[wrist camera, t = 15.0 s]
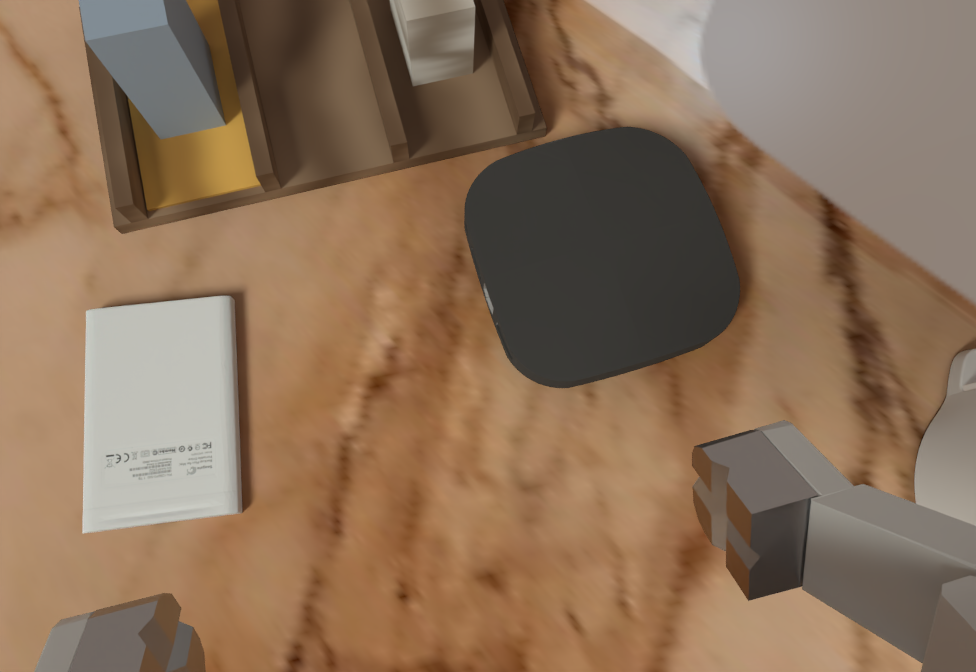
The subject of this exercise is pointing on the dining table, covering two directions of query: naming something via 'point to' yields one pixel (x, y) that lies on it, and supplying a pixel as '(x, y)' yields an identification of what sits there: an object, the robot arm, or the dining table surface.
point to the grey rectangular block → (157, 61)
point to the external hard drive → (161, 414)
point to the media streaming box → (599, 256)
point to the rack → (320, 102)
